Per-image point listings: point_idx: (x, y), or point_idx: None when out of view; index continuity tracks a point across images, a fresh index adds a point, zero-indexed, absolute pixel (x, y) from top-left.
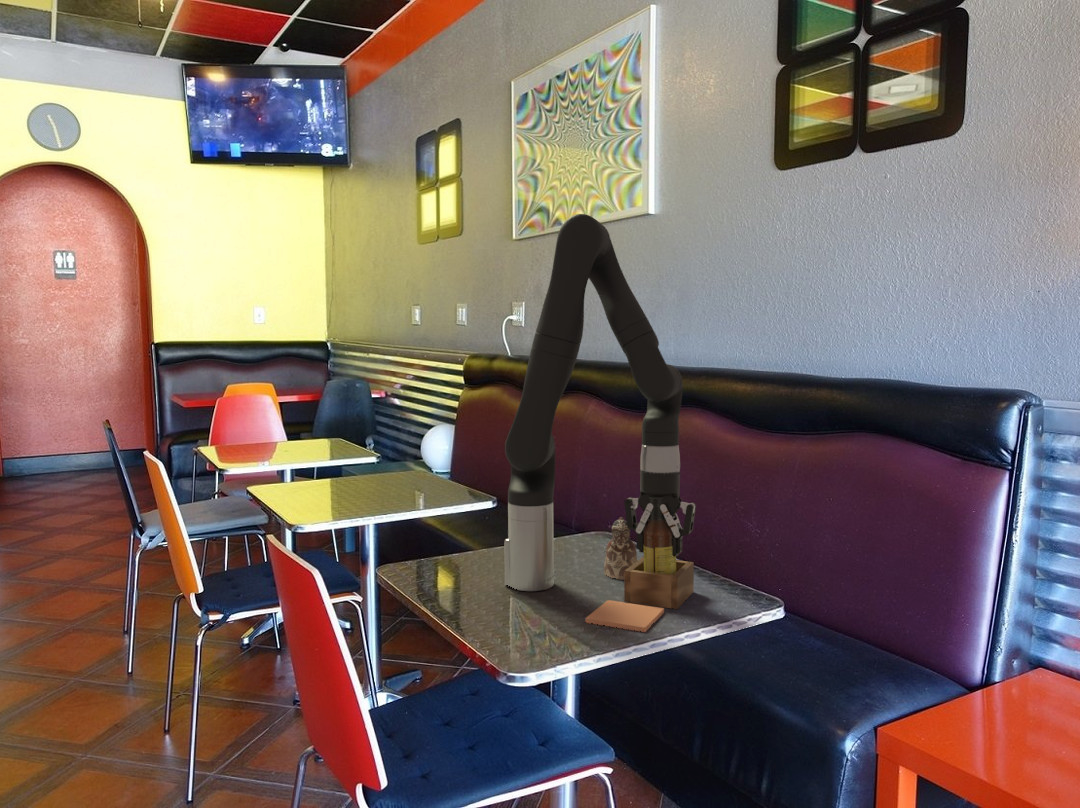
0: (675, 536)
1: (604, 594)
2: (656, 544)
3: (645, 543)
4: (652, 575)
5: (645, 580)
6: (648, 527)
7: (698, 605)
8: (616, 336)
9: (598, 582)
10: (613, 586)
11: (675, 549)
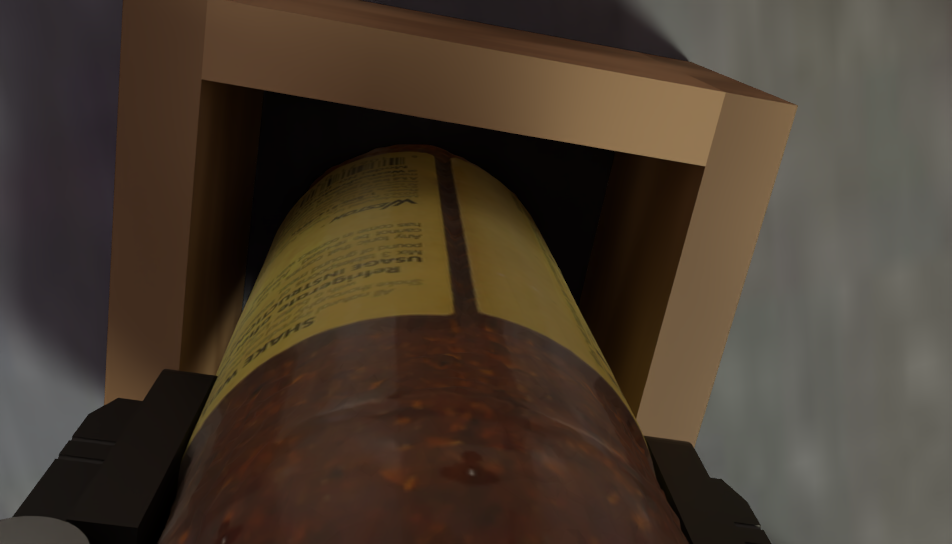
0: (65, 530)
1: (864, 206)
2: (430, 342)
3: (627, 431)
4: (451, 39)
5: (529, 49)
6: None
7: (67, 131)
8: None
9: (920, 471)
10: (802, 412)
11: (147, 409)
